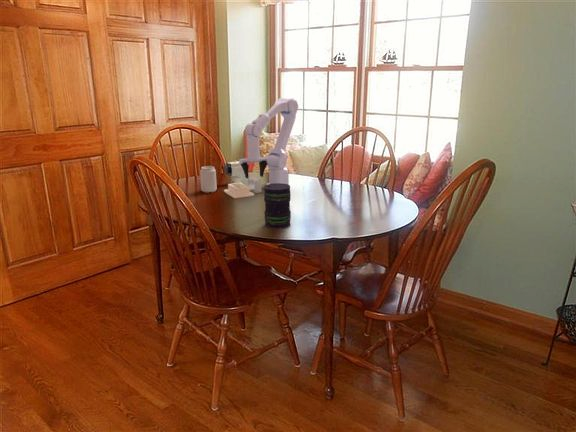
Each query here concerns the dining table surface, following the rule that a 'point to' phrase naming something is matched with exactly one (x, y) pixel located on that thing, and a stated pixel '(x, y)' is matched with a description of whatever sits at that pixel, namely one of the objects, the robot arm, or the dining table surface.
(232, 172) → the pneumatic valve
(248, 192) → the hollow block
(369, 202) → the dining table surface
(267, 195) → the storage jar
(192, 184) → the dining table surface
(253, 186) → the grey block
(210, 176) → the can
